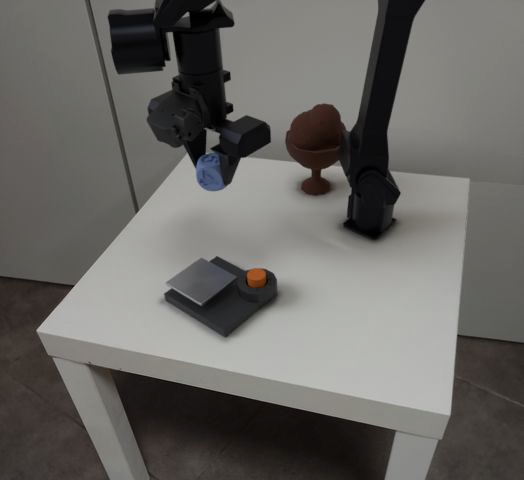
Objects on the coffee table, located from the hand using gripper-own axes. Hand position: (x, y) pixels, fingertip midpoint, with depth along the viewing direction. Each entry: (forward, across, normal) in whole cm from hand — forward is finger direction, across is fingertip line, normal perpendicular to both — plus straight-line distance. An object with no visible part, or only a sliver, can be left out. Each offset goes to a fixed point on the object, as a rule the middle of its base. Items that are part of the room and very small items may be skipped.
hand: (214, 178), depth 80 cm
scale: (+11, +10, -10) cm, 18 cm away
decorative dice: (+1, 0, 0) cm, 1 cm away
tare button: (+8, +14, -7) cm, 17 cm away
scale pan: (+8, +8, -12) cm, 16 cm away
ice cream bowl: (+11, +2, +22) cm, 25 cm away
